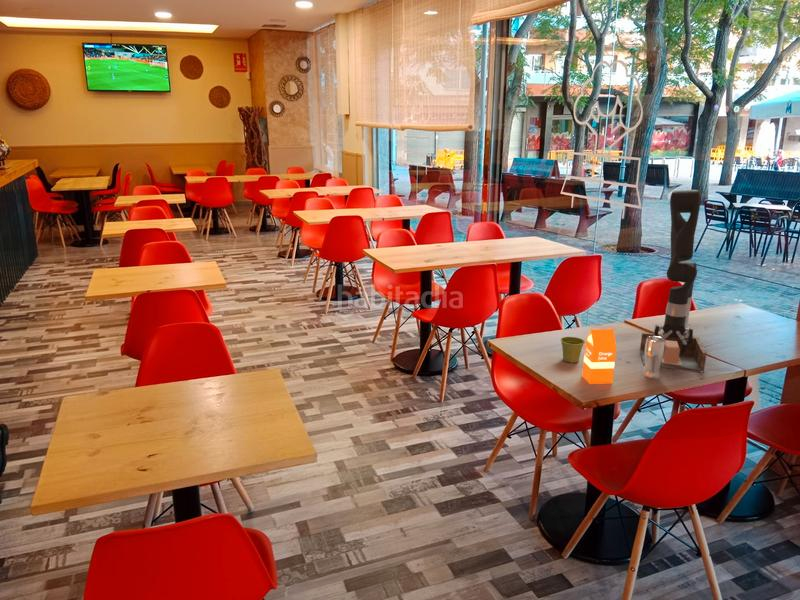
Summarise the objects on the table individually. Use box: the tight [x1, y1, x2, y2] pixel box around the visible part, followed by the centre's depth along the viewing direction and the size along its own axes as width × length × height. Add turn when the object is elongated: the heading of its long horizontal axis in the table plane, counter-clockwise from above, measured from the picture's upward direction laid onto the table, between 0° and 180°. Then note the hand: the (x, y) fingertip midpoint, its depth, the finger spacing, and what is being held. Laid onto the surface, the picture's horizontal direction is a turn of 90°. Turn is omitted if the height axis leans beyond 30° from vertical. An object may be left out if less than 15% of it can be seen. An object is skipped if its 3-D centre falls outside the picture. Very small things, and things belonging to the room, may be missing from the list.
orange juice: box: [581, 328, 617, 385], centre depth 229 cm, size 8×9×20 cm
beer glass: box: [642, 336, 665, 380], centre depth 233 cm, size 7×7×15 cm
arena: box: [639, 331, 707, 373], centre depth 249 cm, size 18×22×8 cm
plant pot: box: [560, 336, 586, 364], centre depth 249 cm, size 9×9×9 cm
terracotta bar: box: [663, 340, 680, 364], centre depth 248 cm, size 10×5×6 cm, turn 163°
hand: (670, 351), depth 248 cm, fingers open, 8 cm apart
